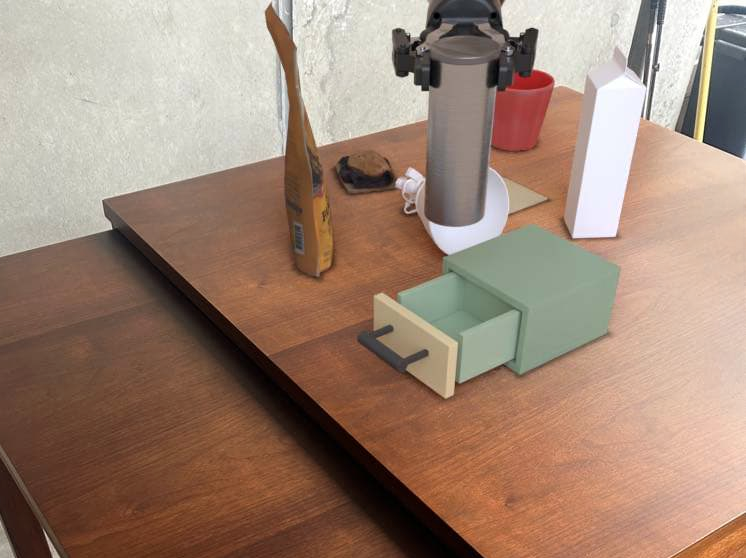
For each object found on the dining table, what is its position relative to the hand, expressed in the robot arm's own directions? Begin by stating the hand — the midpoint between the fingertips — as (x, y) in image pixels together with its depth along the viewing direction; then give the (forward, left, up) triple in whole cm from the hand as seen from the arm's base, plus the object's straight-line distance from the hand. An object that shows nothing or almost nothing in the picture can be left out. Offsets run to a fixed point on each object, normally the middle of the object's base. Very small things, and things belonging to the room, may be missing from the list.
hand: (464, 79), depth 75 cm
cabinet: (-13, -1, -30) cm, 33 cm away
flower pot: (-51, -43, -30) cm, 73 cm away
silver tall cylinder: (-2, -2, -13) cm, 13 cm away
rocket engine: (-23, -26, -30) cm, 46 cm away
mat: (-35, -29, -30) cm, 54 cm away
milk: (-38, -14, -30) cm, 50 cm away
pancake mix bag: (-4, -33, -30) cm, 45 cm away
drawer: (0, -1, -29) cm, 29 cm away
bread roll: (-24, -47, -30) cm, 61 cm away
